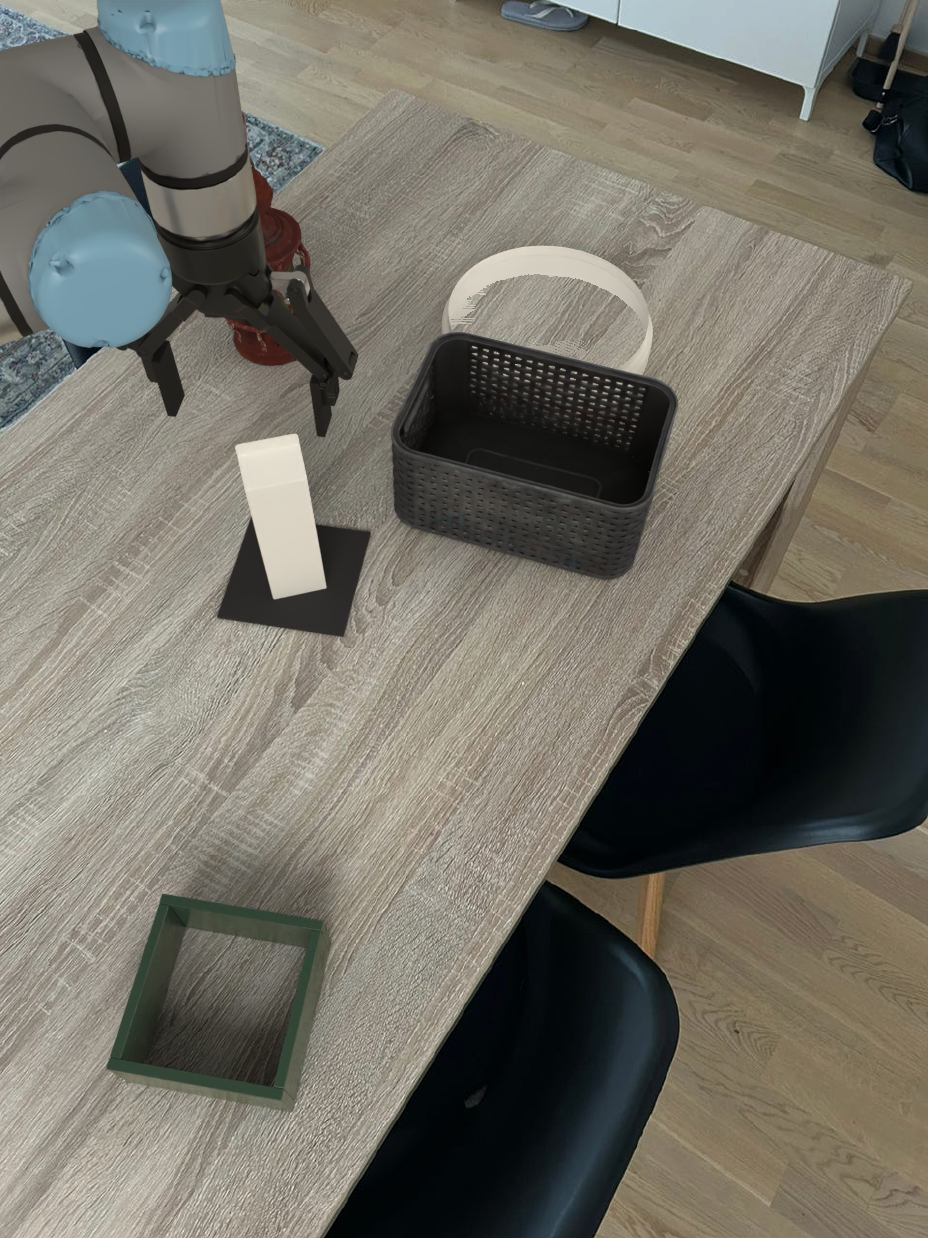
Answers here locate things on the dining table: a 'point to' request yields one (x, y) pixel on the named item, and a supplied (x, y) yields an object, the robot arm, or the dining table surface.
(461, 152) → the dining table surface
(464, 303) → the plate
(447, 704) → the dining table surface
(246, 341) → the lantern
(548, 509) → the storage bin
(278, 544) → the milk
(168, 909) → the holder
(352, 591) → the mat
